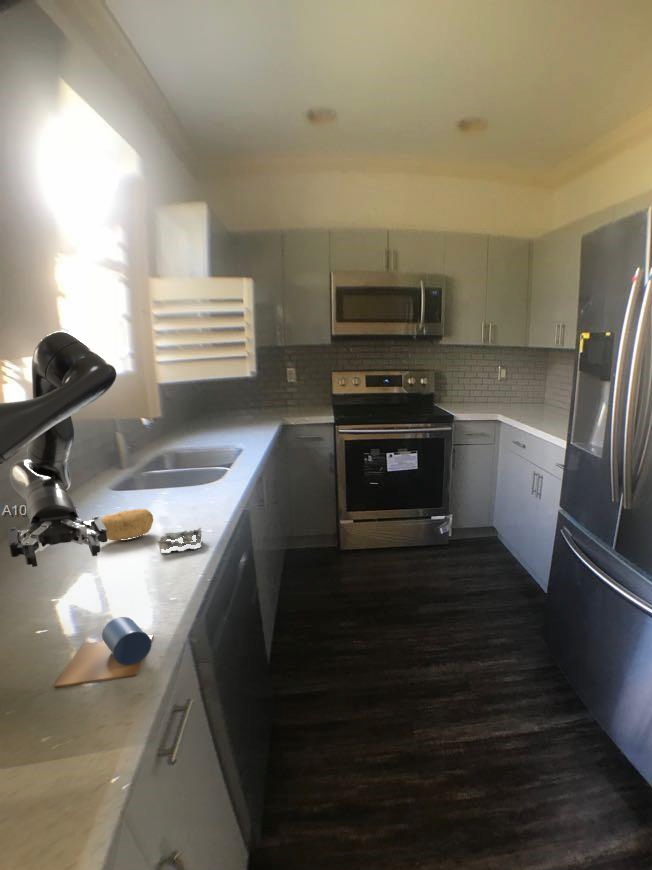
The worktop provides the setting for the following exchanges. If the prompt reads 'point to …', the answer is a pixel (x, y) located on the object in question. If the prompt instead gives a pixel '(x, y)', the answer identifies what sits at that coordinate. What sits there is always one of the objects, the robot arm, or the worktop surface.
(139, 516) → the potato
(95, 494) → the worktop surface
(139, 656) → the cap
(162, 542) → the egg carton
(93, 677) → the mat
